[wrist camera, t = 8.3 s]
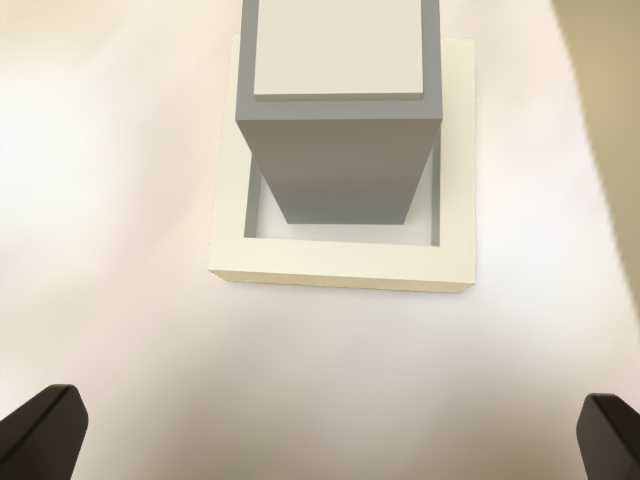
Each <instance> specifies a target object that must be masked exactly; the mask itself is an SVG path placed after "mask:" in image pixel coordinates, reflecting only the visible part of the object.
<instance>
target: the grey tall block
mask: <svg viewBox="0 0 640 480" xmlns="http://www.w3.org/2000/svg"><path fill="white" fill-rule="evenodd" d="M442 120H443V105H442V74H441V43H440V12H439V0H243V8H242V23H241V38H240V53H239V68H238V83H237V98H236V113H235V121H236V123H237V125H238V127H239V129H240V131H241V133H242V135H243V137H244V139H245V141H246V143H247V145H248V147H249V149H250V151H251V153H252V155H253V157H254V159H255V161H256V162H257V164H258V166H259V168H260V170H261V172H262V174H263V176H264V178H265V180H266V182H267V184H268V186H269V188H270V190H271V192H272V194H273V196H274V198H275V200H276V202H277V204H278V206H279V208H280V210H281V212H282V214H283V216H284V218H285V220H286V222H287V224H368V225H403V224H404V221H405V219H406V216H407V213H408V211H409V208H410V205H411V202H412V200H413V197H414V194H415V192H416V189H417V186H418V184H419V181H420V178H421V176H422V173H423V170H424V168H425V165H426V162H427V160H428V157H429V154H430V152H431V149H432V146H433V144H434V141H435V138H436V136H437V133H438V130H439V128H440V125H441V122H442Z"/></svg>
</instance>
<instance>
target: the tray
mask: <svg viewBox="0 0 640 480" xmlns="http://www.w3.org/2000/svg"><path fill="white" fill-rule="evenodd" d="M240 38H241V36H233V38H232V47H231V56H230V65H229V74H228V83H227V91H226V100H225V109H224V118H223V127H222V136H221V145H220V153H219V162H218V171H217V180H216V189H215V198H214V207H213V216H212V224H211V233H210V242H209V251H208V260H207V270H208V271H210V272H212V273H213V274H215V275H217V276H219V277H220V278H222V279H224V280H226V281H237V282H256V283H274V284H293V285H312V286H330V287H349V288H368V289H387V290H405V291H424V292H443V293H460V292H462V291H464V290H465V289H467V288H469V287H470V286H472V285H474V284H475V283H476V237H475V45H474V39H440V43H441V74H442V105H443V120H442V122H441V125H440V128H439V130H438V133H437V136H436V138H435V141H434V144H433V146H432V149H431V152H430V154H429V157H428V160H427V162H426V165H425V168H424V170H423V173H422V176H421V178H420V181H419V184H418V186H417V189H416V192H415V194H414V197H413V200H412V202H411V205H410V208H409V211H408V213H407V216H406V219H405V221H404V224H403V225H368V224H287V222H286V220H285V218H284V216H283V214H282V212H281V210H280V208H279V206H278V204H277V202H276V200H275V198H274V196H273V194H272V192H271V190H270V188H269V186H268V184H267V182H266V180H265V178H264V176H263V174H262V172H261V170H260V168H259V166H258V164H257V162H256V161H255V159H254V157H253V155H252V153H251V151H250V149H249V147H248V145H247V143H246V141H245V139H244V137H243V135H242V133H241V131H240V129H239V127H238V125H237V123H236V121H235V113H236V98H237V83H238V68H239V53H240Z"/></svg>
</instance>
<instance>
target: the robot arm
mask: <svg viewBox="0 0 640 480" xmlns="http://www.w3.org/2000/svg"><path fill="white" fill-rule="evenodd" d="M87 427H88V413H87V411H86V408H85V406H84V403H83V401H82V399H81V396H80V394H79V391H78V389H77V388H76V387H75V386H74V385H71V384H53V385H50V386H48V387H47V388H45V389H44V390H42V391H41V392H40V393H38V394H37V395H35V396H34V397H33V398H31V399H30V400H29V401H27V402H26V403H24V404H23V405H22V406H20V407H19V408H18V409H16V410H15V411H13V412H12V413H11V414H9V415H8V416H7V417H5V418H4V419H3V420H1V421H0V480H70V479H71V476H72V473H73V470H74V467H75V464H76V461H77V458H78V455H79V452H80V449H81V446H82V443H83V440H84V437H85V434H86V431H87ZM576 434H577V440H578V444H579V447H580V451H581V455H582V459H583V462H584V466H585V470H586V473H587V477H588V480H640V414H639V413H638V412H636V411H635V410H634V409H633V408H632V407H630V406H629V405H628V404H627V403H626V402H624V401H623V400H622V399H621V398H619V397H618V396H616V395H614V394H610V393H591V394H589V395H587V396H586V398H585V401H584V404H583V407H582V410H581V413H580V416H579V419H578V422H577V427H576Z"/></svg>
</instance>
